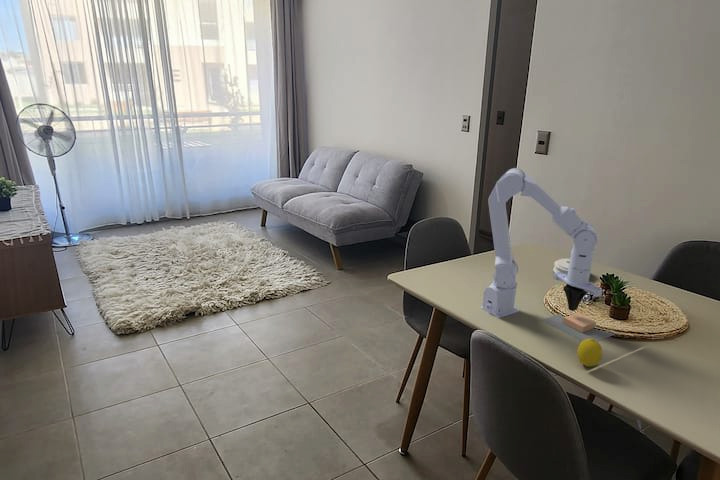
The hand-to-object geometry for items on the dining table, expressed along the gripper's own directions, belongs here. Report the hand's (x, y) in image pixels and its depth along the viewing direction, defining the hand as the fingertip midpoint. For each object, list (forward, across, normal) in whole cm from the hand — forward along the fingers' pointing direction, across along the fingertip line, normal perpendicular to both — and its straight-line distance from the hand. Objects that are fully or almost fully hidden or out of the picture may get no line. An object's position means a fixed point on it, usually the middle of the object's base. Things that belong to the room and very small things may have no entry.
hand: (572, 309), depth 137 cm
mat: (+4, -3, +1) cm, 5 cm away
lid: (+5, +25, -33) cm, 42 cm away
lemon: (+5, -17, +16) cm, 24 cm away
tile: (+3, 0, 0) cm, 3 cm away
